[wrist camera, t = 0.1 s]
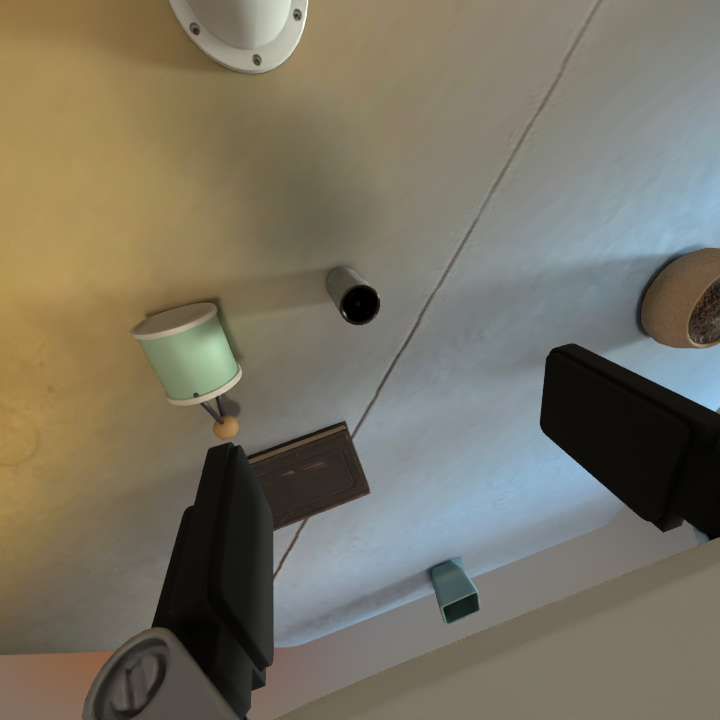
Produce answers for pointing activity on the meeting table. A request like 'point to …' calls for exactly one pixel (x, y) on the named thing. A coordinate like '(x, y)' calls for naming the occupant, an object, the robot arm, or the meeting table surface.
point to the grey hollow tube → (353, 296)
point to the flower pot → (454, 592)
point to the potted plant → (685, 302)
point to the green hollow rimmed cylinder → (192, 359)
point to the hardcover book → (309, 475)
